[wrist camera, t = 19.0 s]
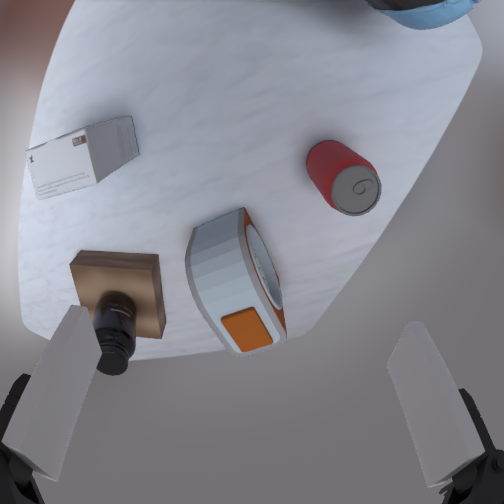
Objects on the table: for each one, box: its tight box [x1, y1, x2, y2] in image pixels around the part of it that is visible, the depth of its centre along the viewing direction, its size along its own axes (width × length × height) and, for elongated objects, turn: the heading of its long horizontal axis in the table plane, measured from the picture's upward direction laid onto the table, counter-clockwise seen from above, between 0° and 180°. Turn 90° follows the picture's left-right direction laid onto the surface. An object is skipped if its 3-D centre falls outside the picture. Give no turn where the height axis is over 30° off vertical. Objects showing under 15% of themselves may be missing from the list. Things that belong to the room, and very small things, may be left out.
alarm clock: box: [185, 207, 287, 356], centre depth 42 cm, size 15×8×14 cm, turn 24°
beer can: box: [306, 141, 381, 216], centre depth 36 cm, size 7×7×12 cm
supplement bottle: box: [92, 294, 137, 376], centre depth 41 cm, size 7×7×12 cm
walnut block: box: [69, 250, 166, 339], centre depth 49 cm, size 14×14×5 cm
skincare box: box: [25, 116, 139, 200], centre depth 32 cm, size 8×6×15 cm
